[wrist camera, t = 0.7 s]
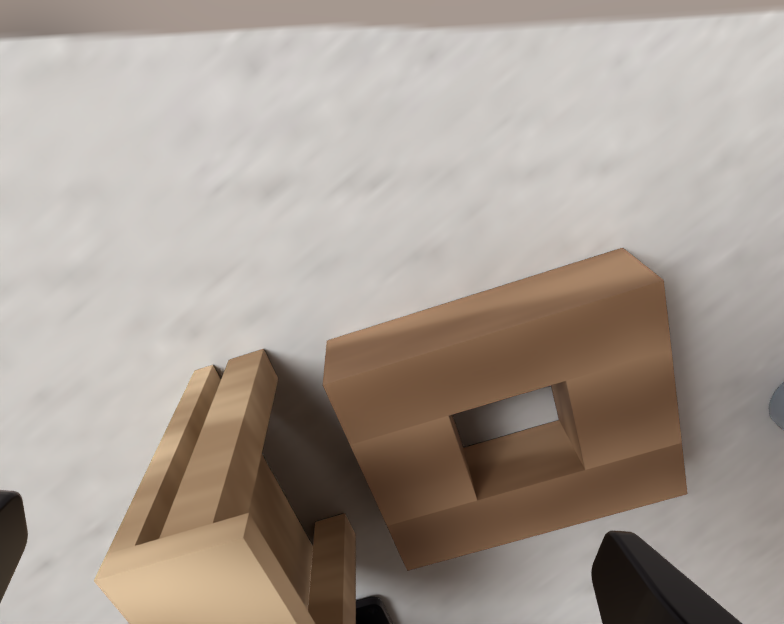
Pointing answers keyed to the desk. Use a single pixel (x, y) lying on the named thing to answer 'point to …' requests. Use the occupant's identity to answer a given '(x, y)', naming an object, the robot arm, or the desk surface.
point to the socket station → (410, 449)
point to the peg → (777, 406)
